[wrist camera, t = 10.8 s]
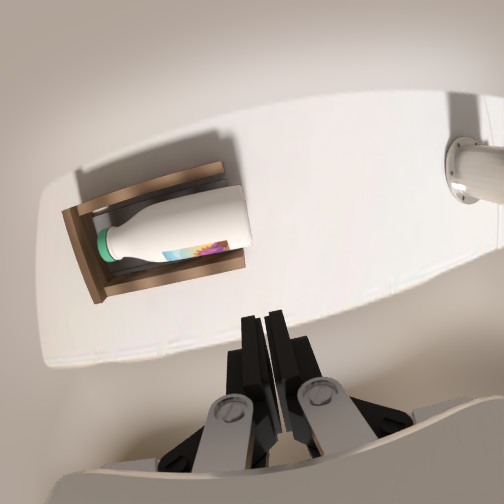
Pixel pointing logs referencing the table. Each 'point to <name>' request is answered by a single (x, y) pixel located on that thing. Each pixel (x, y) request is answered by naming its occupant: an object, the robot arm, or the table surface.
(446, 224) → the table surface
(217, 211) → the milk bottle
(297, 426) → the robot arm
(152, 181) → the rest
